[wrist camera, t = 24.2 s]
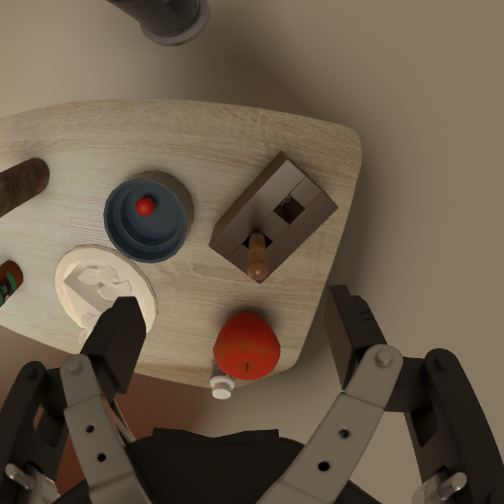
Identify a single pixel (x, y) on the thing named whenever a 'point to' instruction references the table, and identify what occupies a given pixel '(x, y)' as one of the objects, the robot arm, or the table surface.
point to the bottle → (9, 280)
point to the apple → (246, 347)
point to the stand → (272, 215)
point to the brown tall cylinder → (21, 184)
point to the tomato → (145, 206)
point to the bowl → (149, 217)
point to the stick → (257, 256)
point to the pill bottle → (221, 382)
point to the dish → (100, 285)
